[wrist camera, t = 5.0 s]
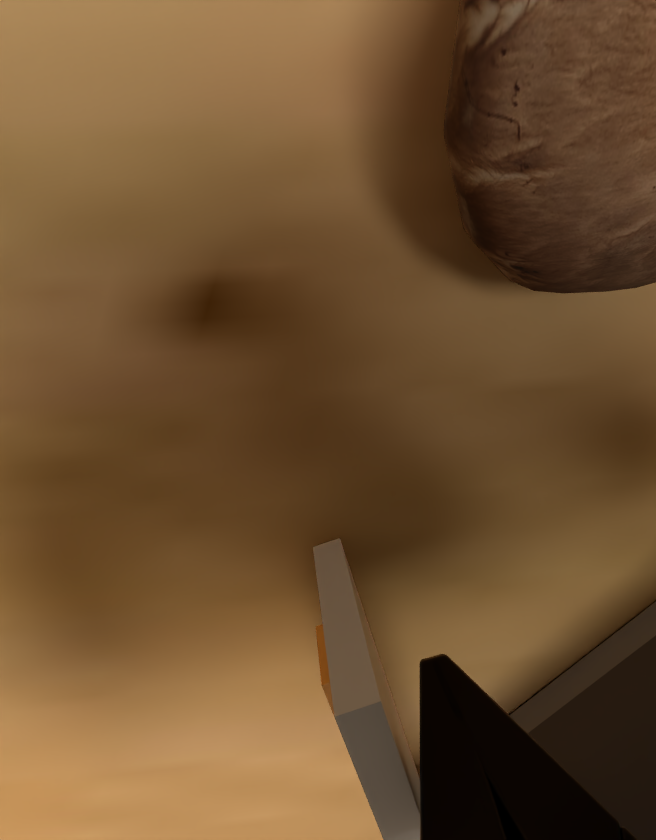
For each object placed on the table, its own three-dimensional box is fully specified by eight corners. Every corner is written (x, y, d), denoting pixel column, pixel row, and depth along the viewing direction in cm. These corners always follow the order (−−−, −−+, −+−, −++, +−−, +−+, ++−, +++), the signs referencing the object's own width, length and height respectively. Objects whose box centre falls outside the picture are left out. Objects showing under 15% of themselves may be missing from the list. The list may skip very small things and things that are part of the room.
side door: (429, 794, 13) (498, 1021, 9) (393, 806, 13) (446, 1039, 9) (345, 535, 10) (390, 698, 6) (299, 551, 10) (310, 724, 6)
